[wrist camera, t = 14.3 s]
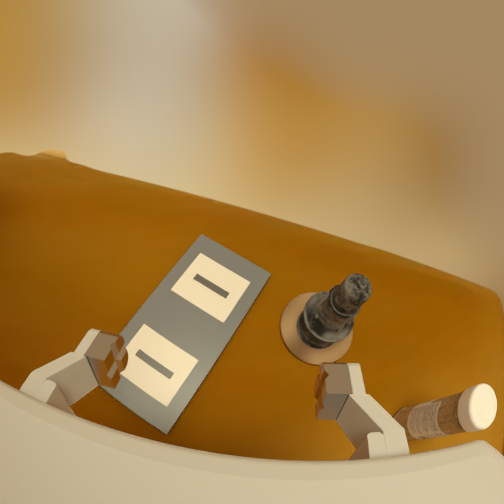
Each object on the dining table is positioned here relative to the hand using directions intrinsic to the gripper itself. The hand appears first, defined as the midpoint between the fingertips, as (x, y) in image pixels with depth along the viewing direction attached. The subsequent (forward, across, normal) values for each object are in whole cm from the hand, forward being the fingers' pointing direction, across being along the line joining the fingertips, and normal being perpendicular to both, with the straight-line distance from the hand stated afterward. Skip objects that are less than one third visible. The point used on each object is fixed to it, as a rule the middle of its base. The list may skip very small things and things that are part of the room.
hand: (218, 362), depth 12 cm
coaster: (+19, -8, +14) cm, 26 cm away
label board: (+16, +7, +14) cm, 22 cm away
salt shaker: (+19, -8, +14) cm, 25 cm away
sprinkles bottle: (+10, -20, +22) cm, 32 cm away
